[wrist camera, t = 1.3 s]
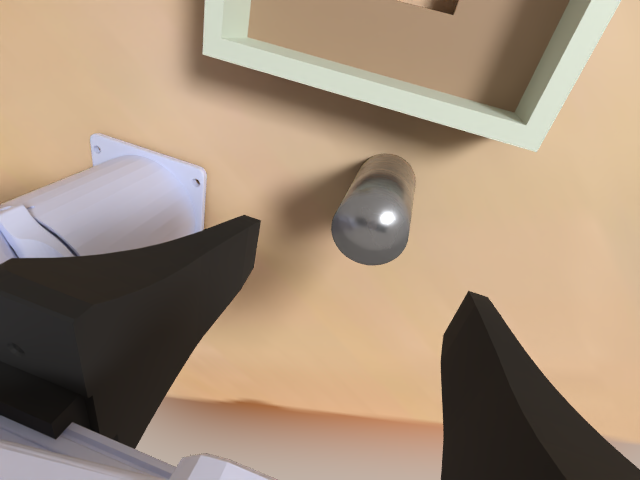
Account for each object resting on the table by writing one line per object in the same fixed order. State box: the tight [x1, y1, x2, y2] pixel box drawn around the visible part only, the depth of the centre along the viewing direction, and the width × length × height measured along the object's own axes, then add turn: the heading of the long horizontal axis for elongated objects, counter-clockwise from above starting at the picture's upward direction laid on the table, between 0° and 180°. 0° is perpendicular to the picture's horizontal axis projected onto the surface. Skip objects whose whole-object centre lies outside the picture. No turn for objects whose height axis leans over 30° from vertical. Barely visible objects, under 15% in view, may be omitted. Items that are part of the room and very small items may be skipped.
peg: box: [331, 154, 416, 265], centre depth 18 cm, size 3×3×6 cm
